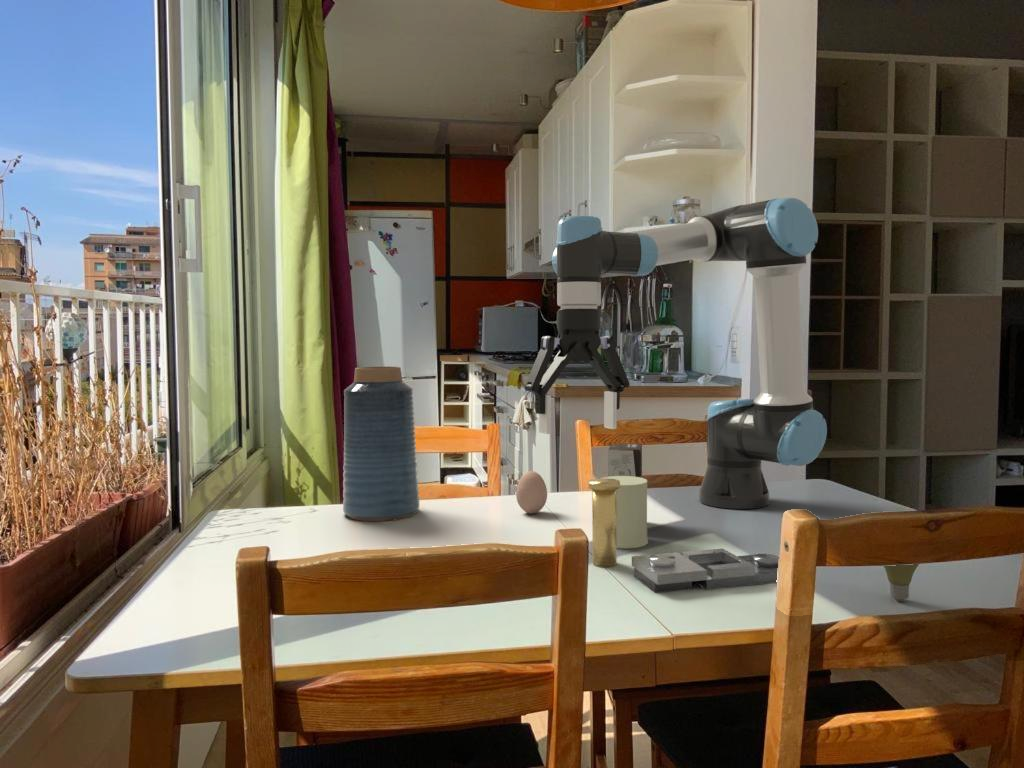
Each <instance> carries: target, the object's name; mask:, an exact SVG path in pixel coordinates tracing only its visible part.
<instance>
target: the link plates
mask: <svg viewBox="0 0 1024 768" xmlns="http://www.w3.org/2000/svg"><path fill="white" fill-rule="evenodd" d="M682 553H683V555H682ZM682 553H679V552H677V551H676V552H667V553H654V554H646V555H645V554H644V555H634V556H631V567H633V576H634V578H635V579H636V580H638V582H639V581H640V583H642V584H643V585H644V586H646V587H647V588H648V589H650V590H651V591H653V592H654V593H665V592H672V591H673V592H674V591H682V590H684V591H685V590H692V583H693V582H694V583H696V584H698V585H699V586H700V587H702V588H703V589H705V590H706V591H707V590H716V589H728V588H737V587H747V586H756V585H766V584H776V580H777V568H778V559H779V560H780V557H779V556H778V555H774V554H769V553H757V554H755V553H754V554H746V555H744V554H743V555H735V554H734V553H732V552H730V551H728V550H726V549H724V548H713V549H703V550H691V551H683V552H682Z"/></svg>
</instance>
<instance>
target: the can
mask: <svg viewBox="0 0 1024 768" xmlns="http://www.w3.org/2000/svg"><path fill="white" fill-rule="evenodd" d="M602 478H607V479H616V480H619V481H620V488H619V489H616V534H617V549H622V550H624V549H627V550H628V549H638V548H641V547H645V546H647V545H648V543H649V539H648V483H649V482H648V479H647V478H643V477H642V478H640V477H634V476H609V477H608V476H603V477H602Z"/></svg>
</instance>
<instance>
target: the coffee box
mask: <svg viewBox="0 0 1024 768" xmlns="http://www.w3.org/2000/svg"><path fill="white" fill-rule="evenodd" d="M607 453H608V459H607V461H608V468H607V469H608V473H607V474H608V476H607V477H609V476H634V477H640V478H643V443H636V442H635V443H634V442H633V443H632V442H627V443H626V442H625V443H624V442H623V443H611V444H610V446H609V447H608V452H607Z"/></svg>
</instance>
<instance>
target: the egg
mask: <svg viewBox="0 0 1024 768" xmlns="http://www.w3.org/2000/svg"><path fill="white" fill-rule="evenodd" d="M515 492H516V494H515V495H516V501H517V504H518V505H519V507H520V509H522V510H523V511H524V512H525V513H526V514H530V515H531V514H532V515H533V514H537V513H539V512H540V511H541V510H542V509H543V508H544V507H545V506H546V503H547V499H548V489H547V485H546V482H545V480H544V479H543V477H542V475H541V474H539V473H538V472H536V471H534V470H530V471H526V472H525V473H524V474H522V476H521V477H520V479H519V481H518V483H517V487H516V491H515Z"/></svg>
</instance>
